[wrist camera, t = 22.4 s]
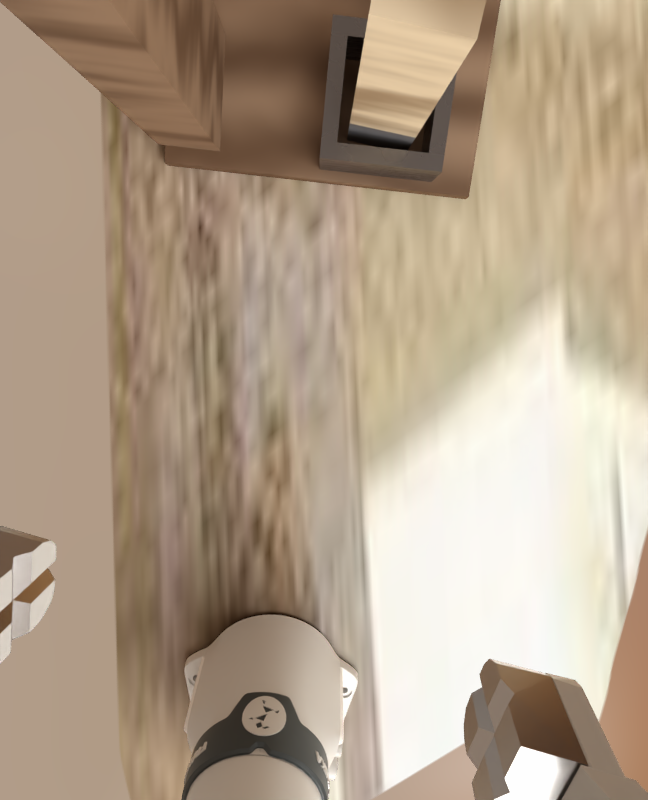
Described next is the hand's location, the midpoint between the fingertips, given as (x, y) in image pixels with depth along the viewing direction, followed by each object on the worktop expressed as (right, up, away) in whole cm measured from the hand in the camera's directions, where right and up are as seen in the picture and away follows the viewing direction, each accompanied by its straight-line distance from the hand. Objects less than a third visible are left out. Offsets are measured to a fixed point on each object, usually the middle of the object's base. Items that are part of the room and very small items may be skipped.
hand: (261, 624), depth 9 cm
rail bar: (+6, +27, +29) cm, 40 cm away
